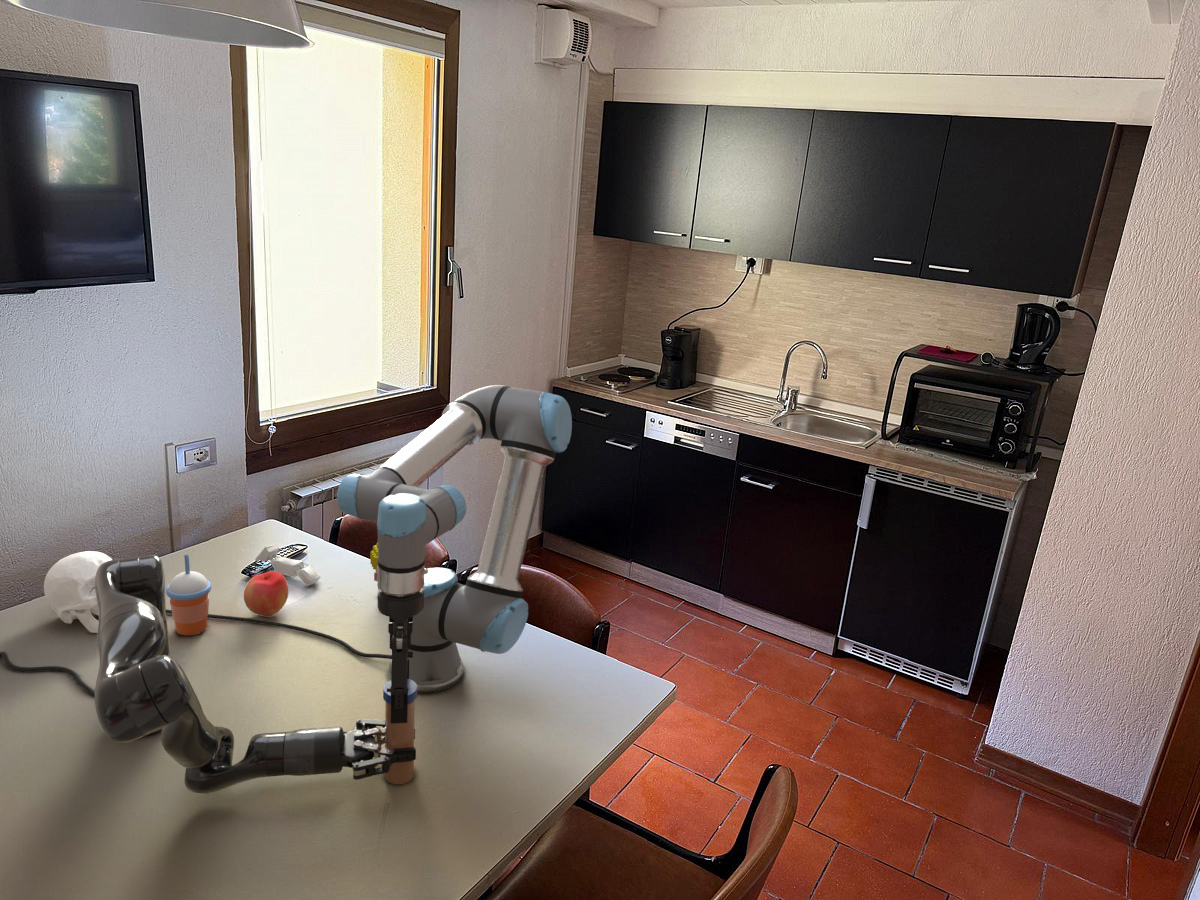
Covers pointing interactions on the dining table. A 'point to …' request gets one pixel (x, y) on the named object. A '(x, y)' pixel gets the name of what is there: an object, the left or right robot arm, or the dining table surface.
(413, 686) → the lid
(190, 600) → the cup with straw
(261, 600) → the apple
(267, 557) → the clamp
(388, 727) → the jar
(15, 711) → the dining table surface
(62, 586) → the skull
